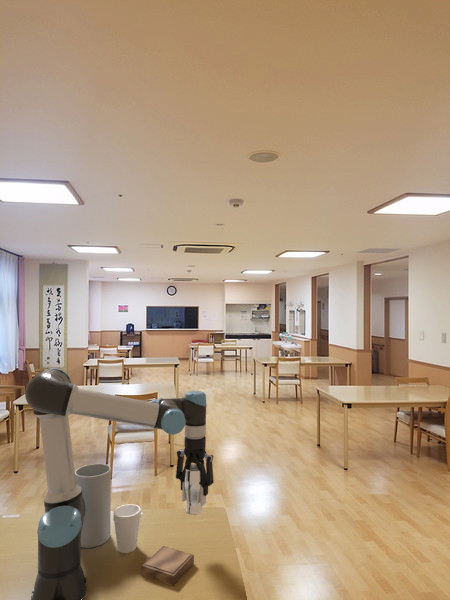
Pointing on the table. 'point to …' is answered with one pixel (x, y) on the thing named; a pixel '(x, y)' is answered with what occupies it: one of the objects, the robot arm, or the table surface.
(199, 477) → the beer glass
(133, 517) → the foam cup
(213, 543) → the table surface
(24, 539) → the table surface
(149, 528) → the table surface
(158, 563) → the coaster
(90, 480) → the cylinder vase
